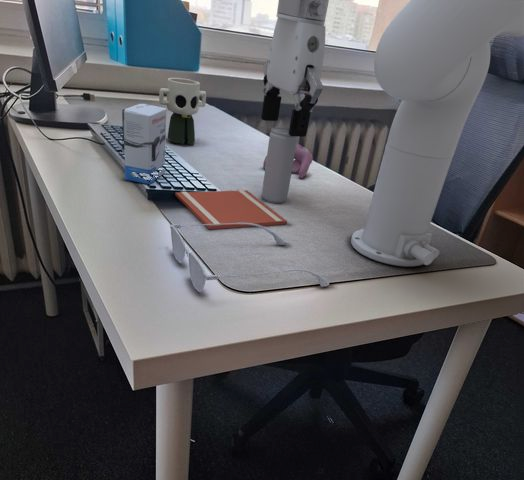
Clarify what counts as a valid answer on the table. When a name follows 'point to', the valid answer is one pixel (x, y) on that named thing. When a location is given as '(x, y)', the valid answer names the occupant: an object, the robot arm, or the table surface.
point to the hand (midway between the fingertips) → (282, 127)
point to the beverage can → (278, 165)
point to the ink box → (144, 140)
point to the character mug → (182, 107)
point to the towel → (229, 209)
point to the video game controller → (299, 161)
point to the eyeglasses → (200, 276)
